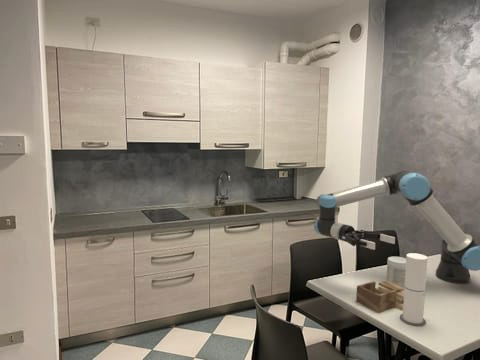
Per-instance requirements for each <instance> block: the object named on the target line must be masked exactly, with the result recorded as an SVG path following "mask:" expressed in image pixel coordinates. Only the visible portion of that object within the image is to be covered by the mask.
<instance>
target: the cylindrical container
mask: <svg viewBox="0 0 480 360" xmlns="http://www.w3.org/2000/svg"><path fill="white" fill-rule="evenodd" d="M405 258H406V271H405V286H404V301H403V310H402V314H403V316H402V317H403V319H404V320H406V321H408V322H411V323H416V324H419V323H422V322H423V318H424V313H425V297H426V285H427V274H428V272H427V271H428V259H429V257H428V256H427V255H425V254H421V253H417V252H416V253H415V252H413V253H412V252H410V253H407V254H406V257H405Z"/></svg>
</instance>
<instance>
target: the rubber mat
mask: <svg viewBox="0 0 480 360" xmlns="http://www.w3.org/2000/svg"><path fill="white" fill-rule="evenodd" d="M402 316H403V313H402V314H400V316H399V319H400V321H401V322H402V323H405V324H407V325H410V326H414V327H422V326H425V325H426V323H427V321H426V319H425V318H424V317H423V322H422V323H419V324H416V323H411V322H408V321H406V320H404V319H403V317H402Z"/></svg>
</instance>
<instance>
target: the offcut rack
mask: <svg viewBox="0 0 480 360" xmlns="http://www.w3.org/2000/svg"><path fill="white" fill-rule="evenodd" d="M376 284H377V283H376V281H374V280H373V281H370V282H365V283H362V284H358V285H356V297H355V302H357V303H358V304H361V305H362V306H364V307H366V308H368V309H370V310H371V311H374V312H376V313H382V312H385V311H387V310H390V309H394V308H396V309H399V310H401V311H403V301H404V288H402V287H400V286H397V285H395V284H393V283H391V282H389V281H387V280H382V281H378V287H376Z"/></svg>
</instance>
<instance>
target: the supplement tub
mask: <svg viewBox="0 0 480 360" xmlns="http://www.w3.org/2000/svg"><path fill="white" fill-rule="evenodd" d="M386 262H387V263H386V281H389V282H391V283H393V284H395V285H397V286H400V287H402V288H404V286H405V271H406V257H401V256H389V257H387V261H386Z"/></svg>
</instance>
